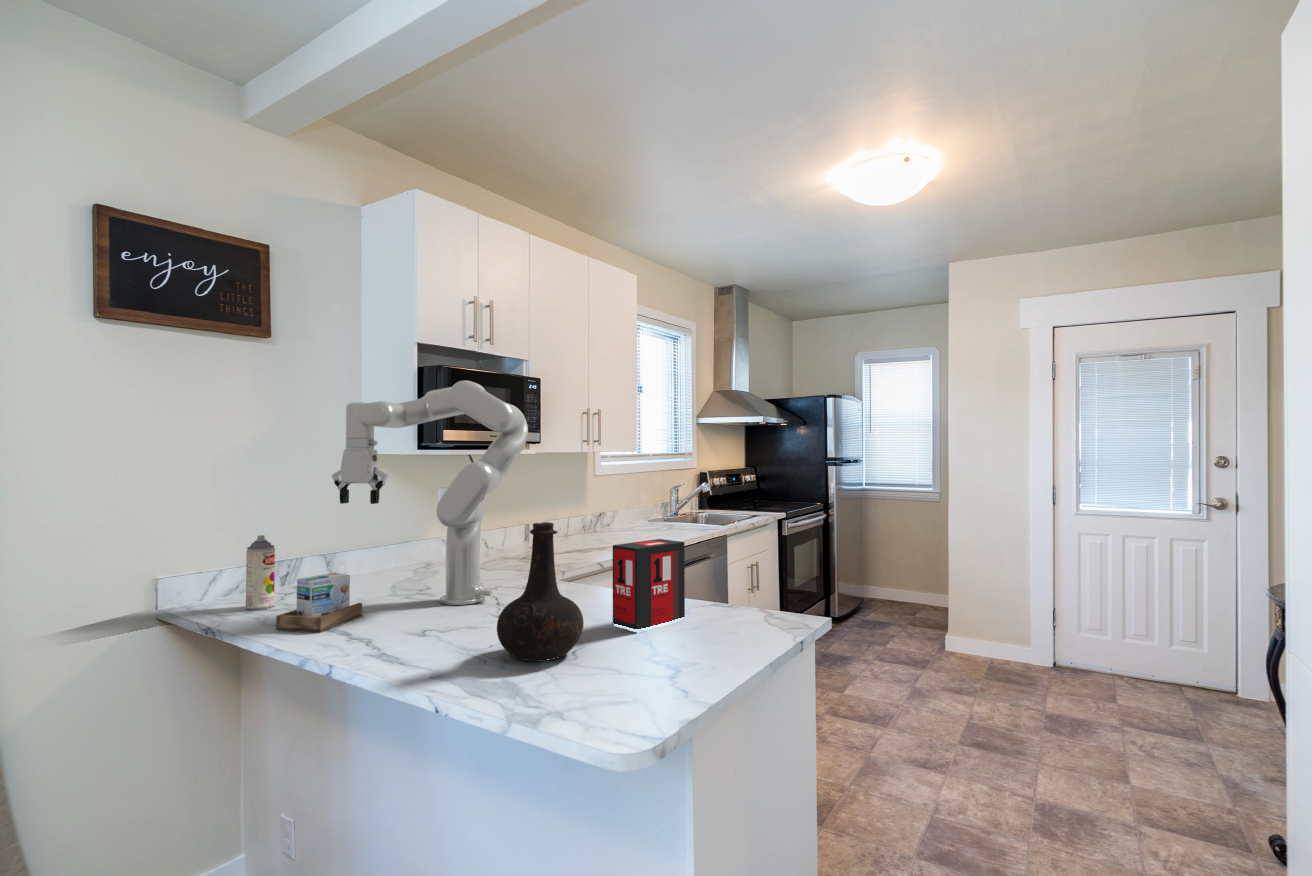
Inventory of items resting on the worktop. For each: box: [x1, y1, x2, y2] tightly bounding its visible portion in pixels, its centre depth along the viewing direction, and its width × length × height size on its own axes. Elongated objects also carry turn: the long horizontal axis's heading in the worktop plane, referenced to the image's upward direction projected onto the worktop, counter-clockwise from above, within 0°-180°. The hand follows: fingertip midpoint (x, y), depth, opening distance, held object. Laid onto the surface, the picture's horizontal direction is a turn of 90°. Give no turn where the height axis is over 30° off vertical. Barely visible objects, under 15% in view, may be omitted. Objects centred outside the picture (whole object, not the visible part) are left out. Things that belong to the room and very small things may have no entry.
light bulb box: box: [296, 572, 351, 617], centre depth 164 cm, size 11×7×11 cm, turn 150°
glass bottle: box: [496, 521, 585, 661], centre depth 137 cm, size 18×18×28 cm
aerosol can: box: [245, 534, 276, 611], centre depth 180 cm, size 7×7×20 cm
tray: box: [275, 602, 363, 633], centre depth 163 cm, size 12×16×4 cm
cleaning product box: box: [612, 538, 686, 629], centre depth 162 cm, size 16×9×20 cm, turn 134°
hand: (359, 503), depth 189 cm, fingers open, 9 cm apart
